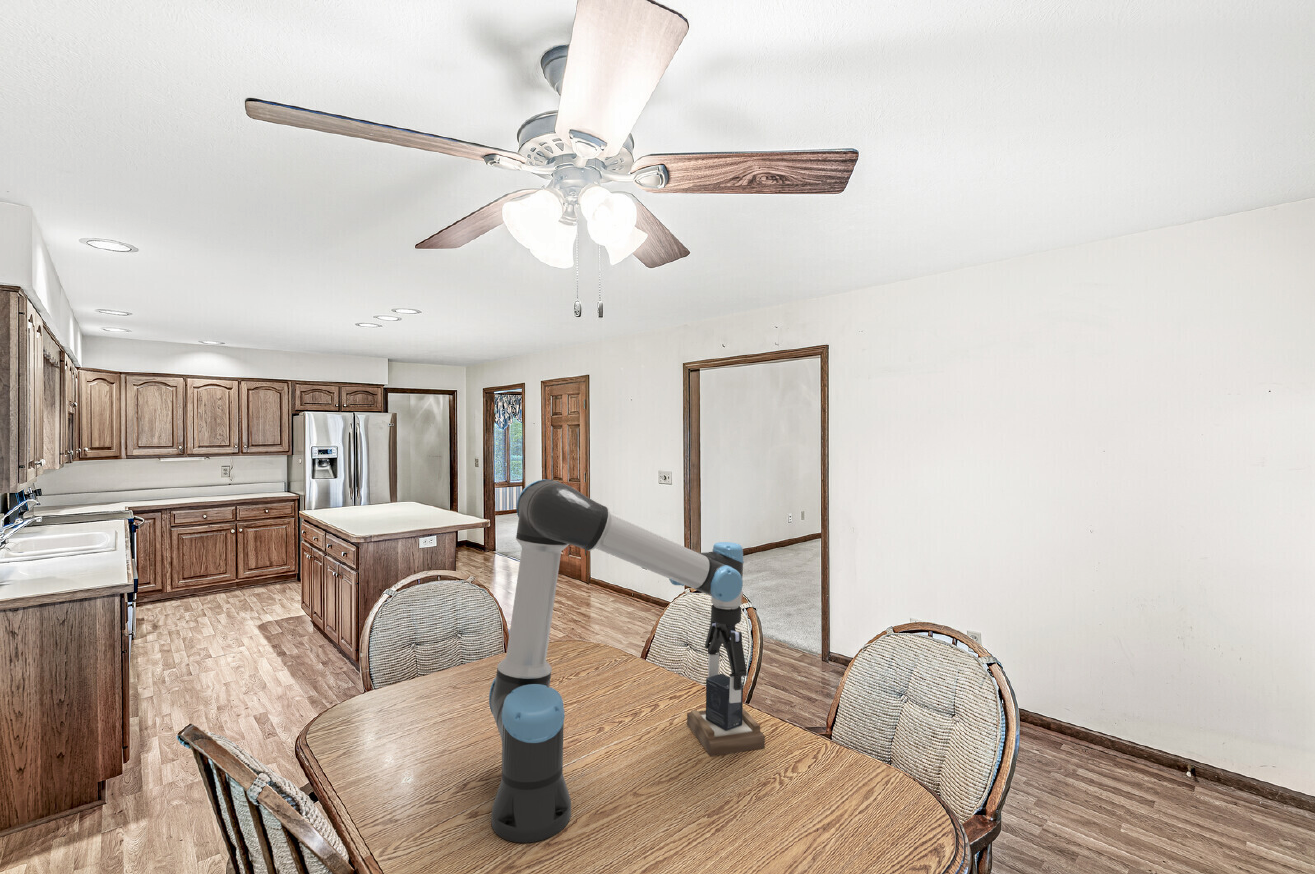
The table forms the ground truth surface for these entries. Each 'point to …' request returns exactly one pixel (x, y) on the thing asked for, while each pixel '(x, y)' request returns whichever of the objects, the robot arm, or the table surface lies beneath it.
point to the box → (722, 703)
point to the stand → (726, 734)
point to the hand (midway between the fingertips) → (723, 690)
